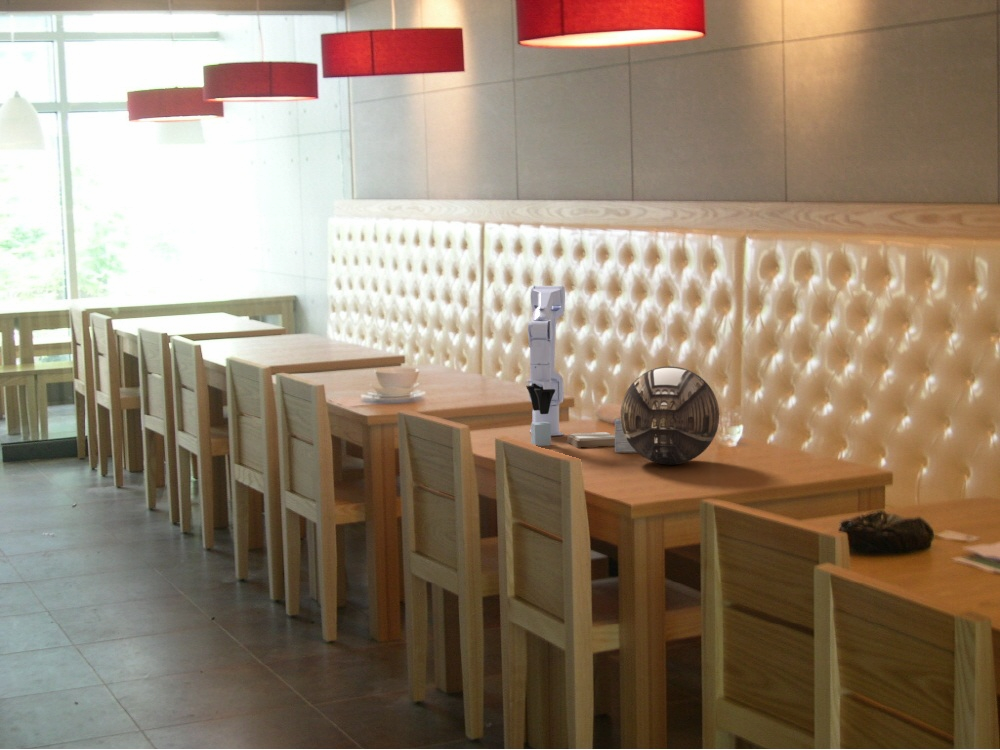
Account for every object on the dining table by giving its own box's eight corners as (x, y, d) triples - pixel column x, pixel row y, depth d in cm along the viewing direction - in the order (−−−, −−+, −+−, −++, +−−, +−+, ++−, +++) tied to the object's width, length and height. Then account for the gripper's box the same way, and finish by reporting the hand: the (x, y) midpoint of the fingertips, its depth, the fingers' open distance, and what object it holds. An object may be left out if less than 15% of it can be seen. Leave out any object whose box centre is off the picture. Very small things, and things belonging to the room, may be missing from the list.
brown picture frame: (567, 442, 366) (567, 433, 365) (608, 440, 368) (608, 431, 368) (577, 448, 356) (577, 439, 356) (619, 445, 359) (619, 436, 358)
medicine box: (644, 450, 352) (644, 418, 351) (644, 453, 347) (644, 421, 346) (614, 450, 353) (614, 418, 352) (614, 452, 348) (614, 421, 347)
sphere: (723, 456, 340) (724, 362, 337) (713, 474, 316) (713, 373, 313) (629, 453, 347) (629, 360, 344) (612, 470, 323) (612, 371, 320)
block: (531, 443, 365) (531, 422, 364) (546, 442, 366) (546, 421, 365) (535, 446, 360) (535, 424, 360) (550, 445, 361) (550, 424, 361)
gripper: (520, 361, 366) (520, 409, 368) (532, 366, 352) (533, 416, 354) (544, 360, 368) (544, 408, 370) (557, 366, 354) (558, 415, 356)
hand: (540, 412), depth 362 cm, fingers open, 7 cm apart
